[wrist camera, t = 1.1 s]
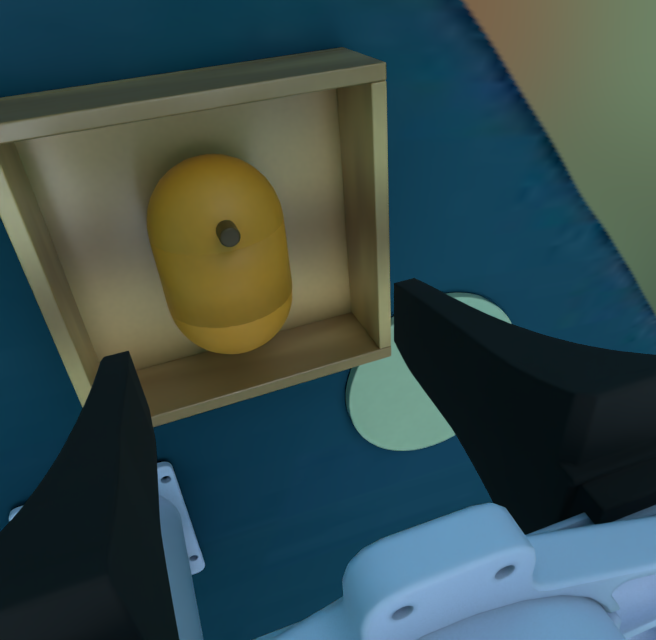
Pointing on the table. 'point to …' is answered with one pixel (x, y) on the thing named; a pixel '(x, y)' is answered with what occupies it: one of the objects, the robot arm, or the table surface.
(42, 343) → the table surface
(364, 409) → the saucer
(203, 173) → the orange rounded piece
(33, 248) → the wooden tray
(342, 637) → the robot arm
